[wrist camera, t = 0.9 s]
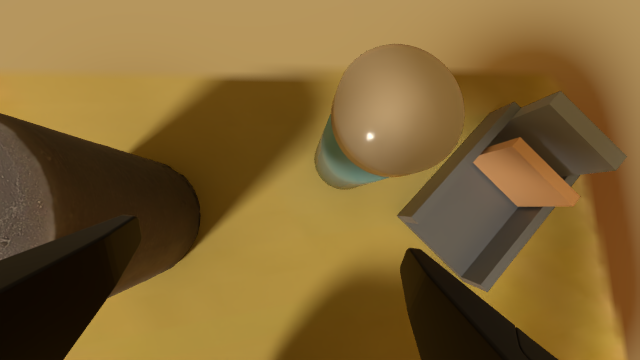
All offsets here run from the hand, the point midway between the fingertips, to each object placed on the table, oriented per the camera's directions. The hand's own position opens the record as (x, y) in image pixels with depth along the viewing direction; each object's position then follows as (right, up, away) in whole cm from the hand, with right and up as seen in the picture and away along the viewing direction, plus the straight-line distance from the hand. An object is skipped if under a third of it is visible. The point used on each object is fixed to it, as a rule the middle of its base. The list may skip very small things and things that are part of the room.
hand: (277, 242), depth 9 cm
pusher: (+18, +2, +16) cm, 24 cm away
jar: (+4, +4, +15) cm, 16 cm away
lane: (+16, +1, +16) cm, 23 cm away
